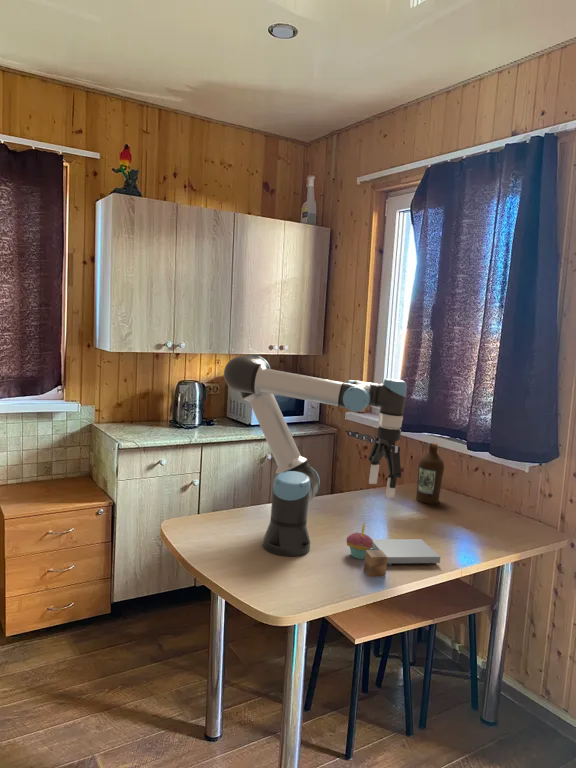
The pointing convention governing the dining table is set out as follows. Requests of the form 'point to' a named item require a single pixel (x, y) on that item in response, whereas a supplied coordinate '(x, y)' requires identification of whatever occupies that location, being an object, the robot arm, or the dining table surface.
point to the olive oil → (430, 476)
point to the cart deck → (406, 551)
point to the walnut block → (375, 563)
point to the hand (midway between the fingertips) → (380, 490)
